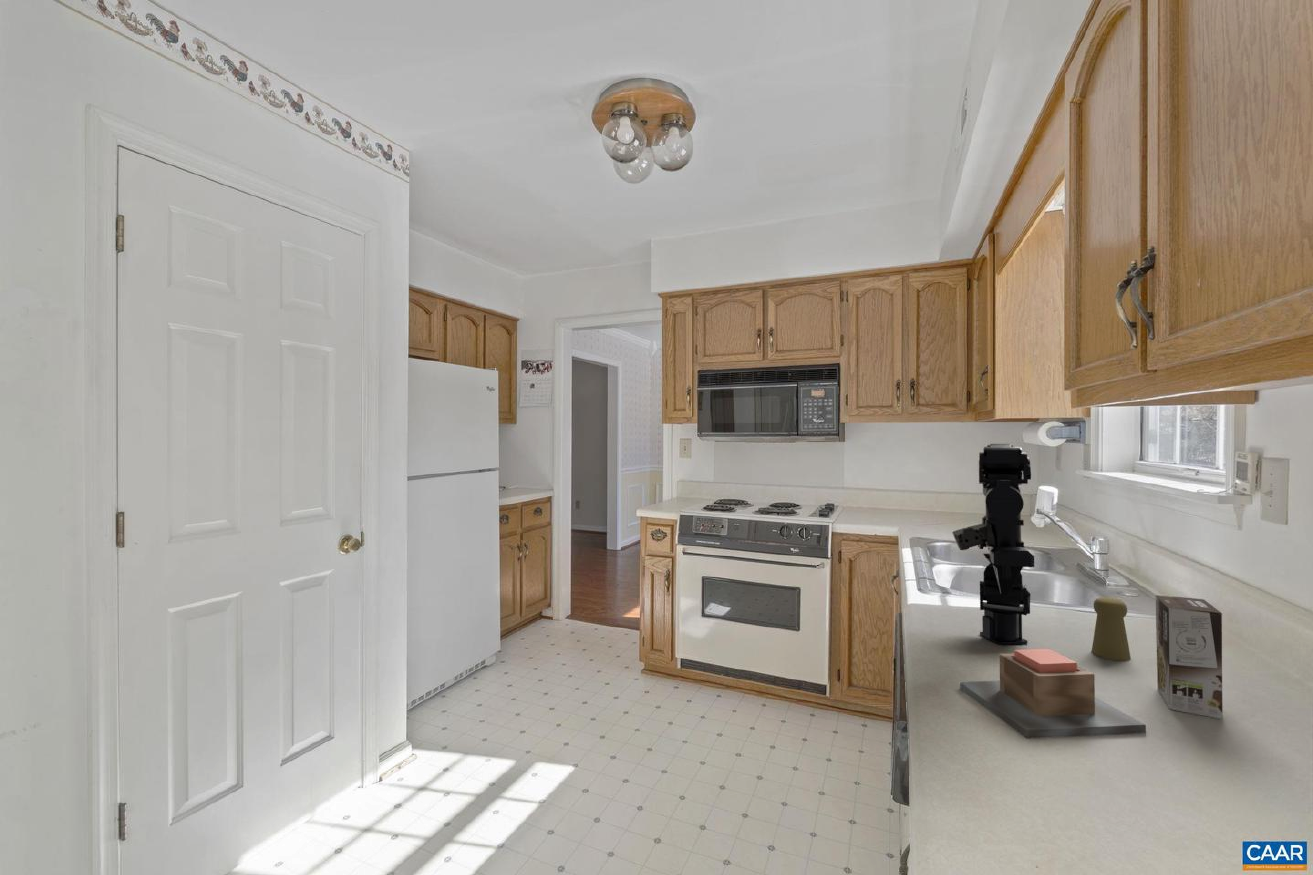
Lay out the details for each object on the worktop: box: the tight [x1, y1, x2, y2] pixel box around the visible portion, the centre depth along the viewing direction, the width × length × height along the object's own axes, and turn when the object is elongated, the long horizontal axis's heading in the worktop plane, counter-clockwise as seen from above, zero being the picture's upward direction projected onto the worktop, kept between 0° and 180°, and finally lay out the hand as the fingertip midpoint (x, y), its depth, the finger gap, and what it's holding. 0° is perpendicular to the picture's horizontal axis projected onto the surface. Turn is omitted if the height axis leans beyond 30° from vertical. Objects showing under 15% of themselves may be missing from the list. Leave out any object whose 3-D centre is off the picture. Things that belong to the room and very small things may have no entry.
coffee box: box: [1155, 594, 1223, 720], centre depth 91 cm, size 9×6×16 cm
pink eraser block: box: [1013, 648, 1078, 673], centre depth 90 cm, size 6×6×6 cm
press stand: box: [959, 652, 1147, 739], centre depth 90 cm, size 18×16×7 cm
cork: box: [1091, 596, 1132, 662], centre depth 111 cm, size 6×6×11 cm
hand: (1004, 594), depth 108 cm, fingers closed
